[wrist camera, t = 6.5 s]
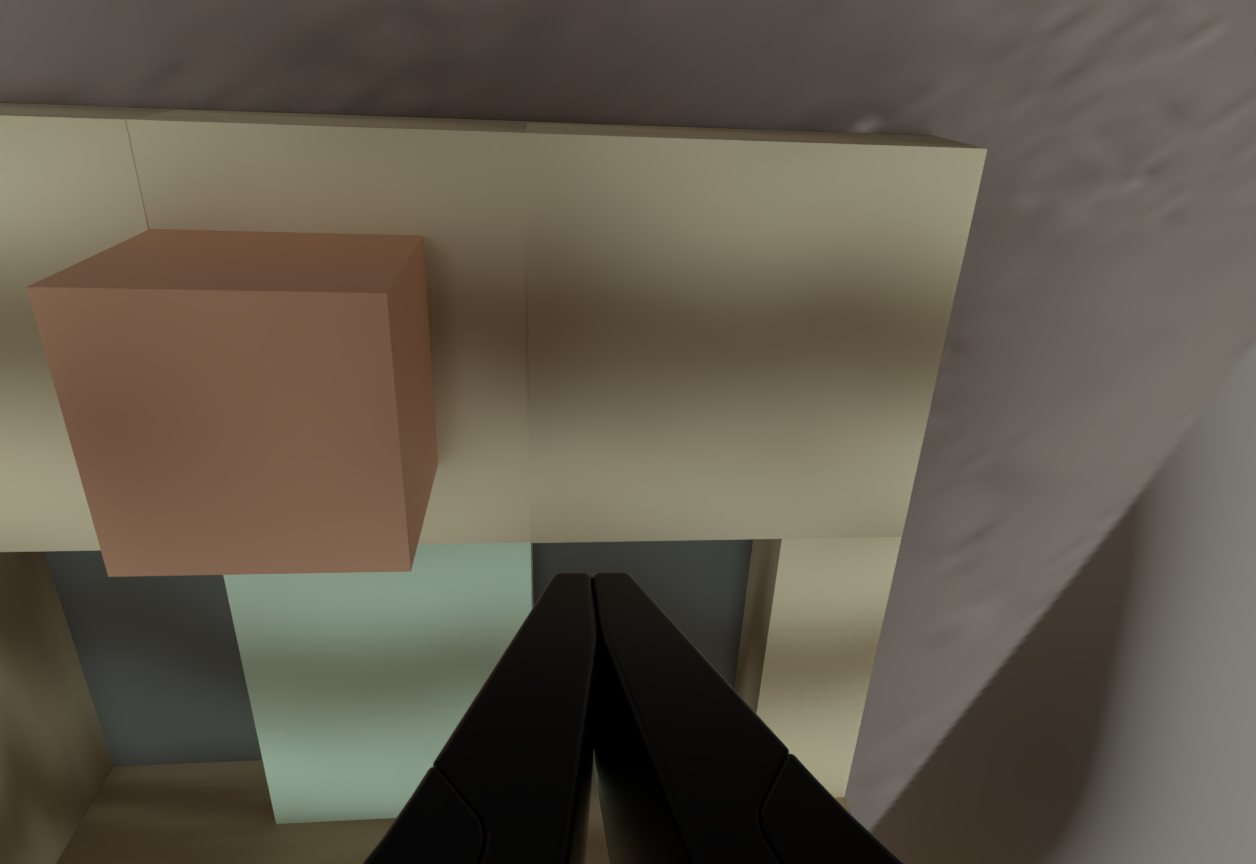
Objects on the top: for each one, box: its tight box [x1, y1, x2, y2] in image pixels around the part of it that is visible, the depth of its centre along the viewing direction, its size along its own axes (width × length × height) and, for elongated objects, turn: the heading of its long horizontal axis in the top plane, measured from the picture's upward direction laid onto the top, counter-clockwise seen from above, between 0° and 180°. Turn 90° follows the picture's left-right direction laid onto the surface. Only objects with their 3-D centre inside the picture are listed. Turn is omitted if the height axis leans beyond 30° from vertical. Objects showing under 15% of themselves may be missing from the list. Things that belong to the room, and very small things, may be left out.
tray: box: [0, 103, 987, 864], centre depth 18 cm, size 19×22×6 cm
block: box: [26, 229, 438, 577], centre depth 15 cm, size 5×5×4 cm
